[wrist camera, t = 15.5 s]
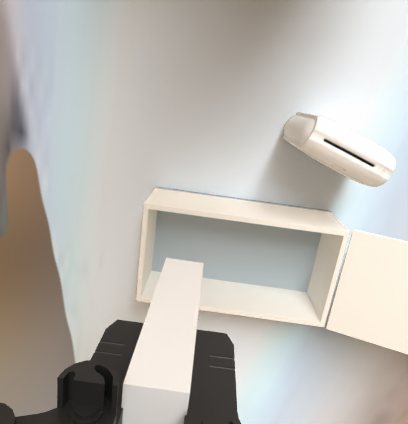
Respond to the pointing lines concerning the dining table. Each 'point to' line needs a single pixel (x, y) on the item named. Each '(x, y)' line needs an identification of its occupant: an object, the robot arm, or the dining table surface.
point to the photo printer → (340, 148)
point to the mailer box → (245, 253)
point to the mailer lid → (373, 292)
